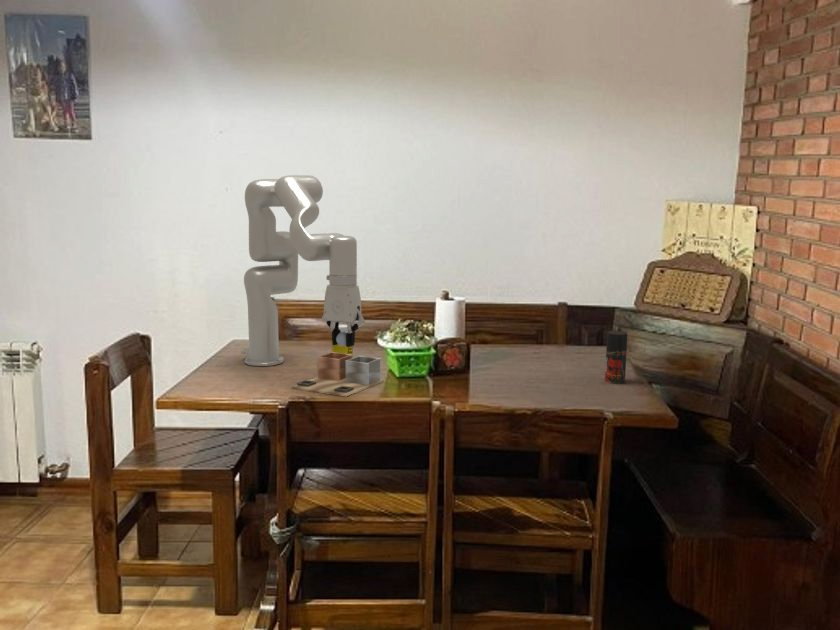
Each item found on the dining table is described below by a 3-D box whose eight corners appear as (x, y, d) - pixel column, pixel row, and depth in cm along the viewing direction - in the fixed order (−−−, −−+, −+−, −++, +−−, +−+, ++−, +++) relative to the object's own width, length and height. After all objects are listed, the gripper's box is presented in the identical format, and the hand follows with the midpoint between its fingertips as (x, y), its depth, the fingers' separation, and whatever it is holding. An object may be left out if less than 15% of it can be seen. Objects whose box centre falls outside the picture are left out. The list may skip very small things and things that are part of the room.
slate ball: (333, 346, 228) (333, 332, 227) (341, 344, 232) (341, 330, 231) (345, 348, 226) (345, 334, 226) (353, 345, 230) (353, 331, 229)
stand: (291, 388, 235) (290, 364, 234) (330, 373, 252) (330, 351, 251) (346, 397, 226) (346, 372, 225) (383, 381, 243) (383, 358, 242)
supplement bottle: (349, 367, 260) (349, 328, 258) (329, 366, 262) (329, 327, 259) (355, 362, 267) (355, 324, 265) (335, 361, 268) (335, 323, 266)
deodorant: (600, 379, 247) (603, 331, 245) (617, 378, 250) (619, 330, 247) (612, 384, 242) (614, 335, 239) (629, 382, 244) (631, 333, 242)
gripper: (310, 280, 226) (311, 344, 229) (361, 284, 218) (361, 351, 222) (325, 277, 233) (326, 339, 236) (375, 281, 225) (375, 346, 228)
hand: (343, 344), depth 229 cm, fingers closed on slate ball, 3 cm apart
